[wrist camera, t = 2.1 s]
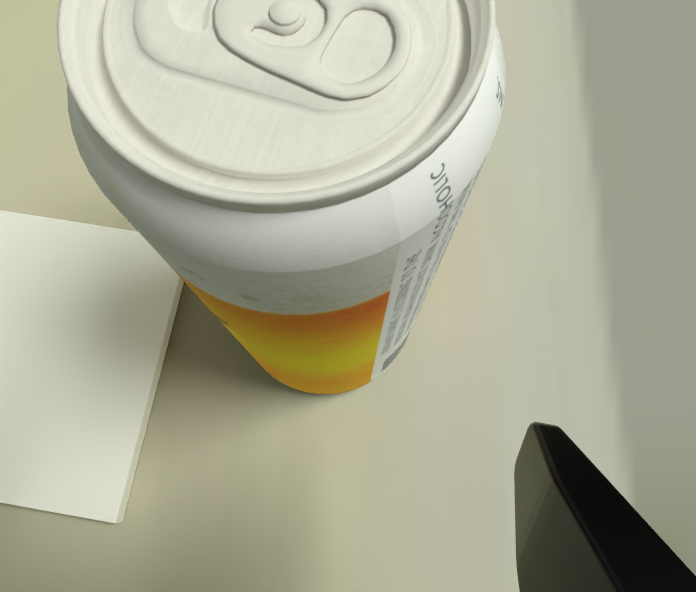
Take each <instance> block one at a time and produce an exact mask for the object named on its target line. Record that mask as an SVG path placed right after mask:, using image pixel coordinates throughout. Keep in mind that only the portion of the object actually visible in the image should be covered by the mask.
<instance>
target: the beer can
mask: <svg viewBox="0 0 696 592" xmlns="http://www.w3.org/2000/svg"><path fill="white" fill-rule="evenodd" d="M57 33H58V49H59V54H60V59H61V65H62V69H63V73H64V75H65V78H66V81H67V95H68V111H69V117H70V122H71V127H72V132H73V135H74V138H75V141H76V144H77V147H78V150H79V153H80V155H81V157H82V159H83V161H84V163H85V165H86V167H87V169H88V171H89V173H90V175H91V176H92V177H93V179H94V180H95V182H96V183H97V185H98V186H99V188H100V189H101V190H102V192H103V193H104V195H105V196H106V197H107V198H108V199H109V200H110V201H111V202H112V203H113V204H114V205H115V207H116V208H117V209H118V210H119V211H120V212H121V213H122V214H123V215H124V216H125V218H126V219H127V220H128V221H129V222H130V223H131V224H132V225H133V226H134V227H135V228H136V230H137V231H138V232H139V233H140V234H141V235H142V236H143V237H144V238H145V239H146V241H147V242H148V243H149V244H150V245H151V246H152V247H153V248H154V249H155V250H156V251H157V253H158V254H159V255H160V256H161V257H162V258H163V259H164V260H165V261H166V262H167V264H168V265H169V266H170V267H171V268H172V269H173V270H174V271H175V272H176V273H177V274H178V276H179V277H180V278H181V279H182V280H183V281H184V282H185V283H186V284H187V285H188V287H189V288H190V289H191V290H192V291H193V292H194V293H195V294H196V295H197V296H198V297H199V299H200V300H201V301H202V302H203V303H204V304H205V305H206V306H207V307H208V308H209V310H210V311H211V312H212V313H213V314H214V315H215V316H216V317H217V318H218V319H219V320H220V322H221V323H222V324H223V325H224V326H225V327H226V328H227V329H228V330H229V331H230V332H231V334H232V335H233V336H234V337H235V338H236V339H237V340H238V341H239V342H240V343H241V345H242V346H243V347H244V348H245V349H246V350H247V351H248V352H249V353H250V354H251V355H252V357H253V358H254V359H255V360H256V361H257V362H258V363H259V364H260V365H261V366H262V368H263V369H264V370H265V371H266V372H268V373H269V374H270V375H271V376H272V377H274V378H275V379H277V380H278V381H280V382H281V383H283V384H285V385H287V386H289V387H291V388H294V389H297V390H300V391H304V392H308V393H315V394H335V393H342V392H346V391H351V390H353V389H356V388H359V387H361V386H363V385H365V384H367V383H369V382H371V381H372V380H374V379H375V378H377V377H378V376H380V375H381V374H382V373H383V372H384V371H385V370H387V368H388V367H389V366H390V365H391V364H392V363H393V362H394V360H395V359H396V358H397V356H398V355H399V353H400V352H401V350H402V348H403V346H404V344H405V342H406V340H407V337H408V335H409V333H410V330H411V328H412V326H413V323H414V321H415V319H416V317H417V314H418V312H419V310H420V307H421V305H422V303H423V301H424V298H425V296H426V294H427V291H428V289H429V287H430V285H431V282H432V280H433V278H434V275H435V273H436V271H437V268H438V266H439V264H440V262H441V259H442V257H443V255H444V252H445V250H446V248H447V246H448V243H449V241H450V239H451V236H452V234H453V232H454V230H455V227H456V225H457V223H458V220H459V218H460V216H461V213H462V211H463V209H464V207H465V204H466V202H467V200H468V197H469V195H470V193H471V191H472V188H473V186H474V184H475V181H476V179H477V177H478V175H479V172H480V170H481V168H482V165H483V163H484V161H485V159H486V156H487V154H488V152H489V149H490V147H491V144H492V142H493V139H494V137H495V134H496V132H497V129H498V125H499V121H500V118H501V114H502V110H503V103H504V95H505V86H506V84H505V61H504V54H503V48H502V42H501V39H500V36H499V32H498V29H497V26H496V22H495V0H60V4H59V12H58V22H57Z"/></svg>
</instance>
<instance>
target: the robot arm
mask: <svg viewBox="0 0 696 592" xmlns="http://www.w3.org/2000/svg"><path fill="white" fill-rule="evenodd" d="M514 482H515V529H516V563H517V574H518V582H519V590H520V592H696V576H695V575H694V574H693V573H692V571H691V570H690V569H689V568H688V567H687V566H686V565H685V564H684V563H683V562H682V561H681V559H680V558H679V557H678V556H677V555H676V554H675V553H674V552H673V551H672V550H671V548H670V547H669V546H668V545H667V544H666V543H665V542H664V541H663V540H662V539H661V538H660V537H659V536H658V534H657V533H656V532H655V531H654V530H653V529H652V528H651V527H650V526H649V524H648V523H647V522H646V521H645V520H644V519H643V518H642V517H641V516H640V515H639V513H638V512H637V511H636V510H635V509H634V508H633V507H632V506H631V505H630V504H629V503H628V501H627V500H626V499H625V498H624V497H623V496H622V495H621V494H620V493H619V492H618V490H617V489H616V488H615V487H614V486H613V485H612V484H611V483H610V482H609V481H608V480H607V478H606V477H605V476H604V475H603V474H602V473H601V472H600V471H599V470H598V469H597V467H596V466H595V465H594V464H593V463H592V462H591V461H590V460H589V459H588V458H587V457H586V455H585V454H584V453H583V452H582V451H581V450H580V449H579V448H578V447H577V446H576V444H575V443H574V442H573V441H572V440H571V439H570V438H569V437H568V436H567V435H566V434H565V432H564V431H563V430H562V429H561V428H559V427H558V426H555V425H550V424H545V423H539V422H534V423H532V424H530V426H529V427H528V429H527V432H526V435H525V438H524V440H523V443H522V446H521V448H520V451H519V454H518V457H517V460H516V464H515V472H514Z"/></svg>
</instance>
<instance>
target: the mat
mask: <svg viewBox="0 0 696 592" xmlns="http://www.w3.org/2000/svg"><path fill="white" fill-rule="evenodd" d="M183 284H184V281H183V280H182V279H181V278H180V277H179V276H178V274H177V273H176V272H175V271H174V270H173V269H172V268H171V267H170V266H169V265H168V264H167V262H166V261H165V260H164V259H163V258H162V257H161V256H160V255H159V254H158V253H157V251H156V250H155V249H154V248H153V247H152V246H151V245H150V244H149V243H148V242H147V241H146V239H145V238H144V237H143V236H142V235H141V234H140V233H139V232H138V231H131V230H125V229H118V228H112V227H105V226H99V225H92V224H86V223H79V222H73V221H67V220H60V219H54V218H47V217H41V216H34V215H28V214H21V213H15V212H8V211H2V210H0V503H6V504H11V505H17V506H22V507H28V508H33V509H39V510H44V511H50V512H55V513H61V514H66V515H72V516H77V517H83V518H88V519H94V520H99V521H105V522H110V523H120V522H123V518H124V514H125V510H126V507H127V503H128V499H129V495H130V491H131V487H132V483H133V479H134V475H135V471H136V468H137V464H138V460H139V456H140V452H141V448H142V444H143V440H144V436H145V432H146V429H147V425H148V421H149V417H150V413H151V409H152V405H153V401H154V397H155V393H156V389H157V386H158V382H159V378H160V374H161V370H162V366H163V362H164V358H165V354H166V350H167V347H168V343H169V339H170V335H171V331H172V327H173V323H174V319H175V315H176V311H177V308H178V304H179V300H180V296H181V292H182V288H183Z"/></svg>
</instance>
